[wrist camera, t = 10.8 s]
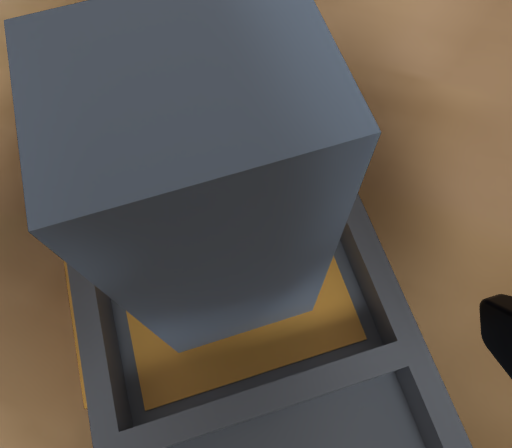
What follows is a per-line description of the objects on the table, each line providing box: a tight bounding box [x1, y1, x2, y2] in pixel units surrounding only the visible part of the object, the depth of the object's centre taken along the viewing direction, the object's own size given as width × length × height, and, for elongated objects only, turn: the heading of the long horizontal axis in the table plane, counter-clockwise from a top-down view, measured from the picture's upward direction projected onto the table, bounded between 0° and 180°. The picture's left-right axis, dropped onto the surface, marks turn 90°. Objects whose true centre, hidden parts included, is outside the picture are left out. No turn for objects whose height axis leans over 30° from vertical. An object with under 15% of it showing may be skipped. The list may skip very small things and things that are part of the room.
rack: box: [63, 194, 473, 448], centre depth 17 cm, size 27×11×2 cm, turn 17°
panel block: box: [4, 0, 381, 353], centre depth 12 cm, size 4×5×11 cm
